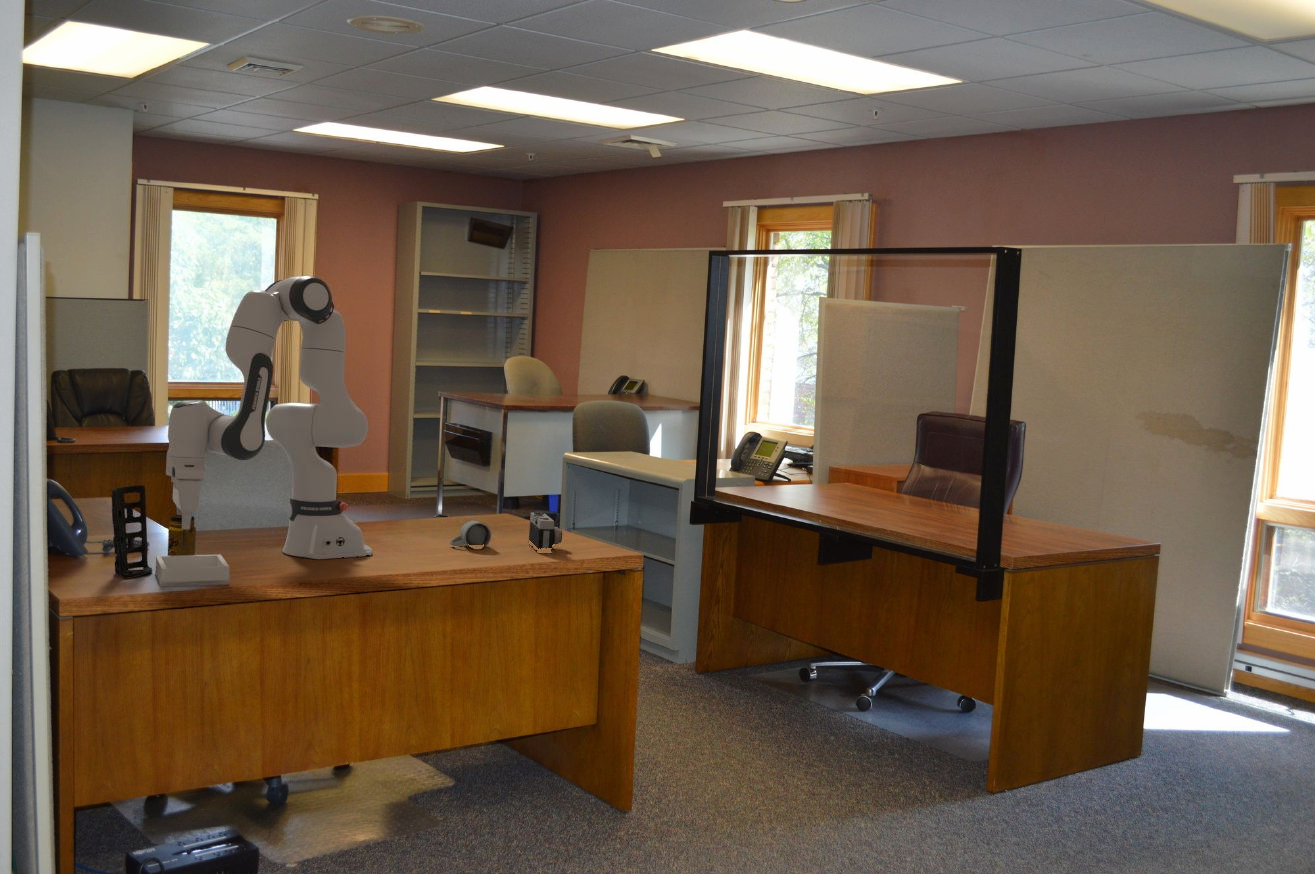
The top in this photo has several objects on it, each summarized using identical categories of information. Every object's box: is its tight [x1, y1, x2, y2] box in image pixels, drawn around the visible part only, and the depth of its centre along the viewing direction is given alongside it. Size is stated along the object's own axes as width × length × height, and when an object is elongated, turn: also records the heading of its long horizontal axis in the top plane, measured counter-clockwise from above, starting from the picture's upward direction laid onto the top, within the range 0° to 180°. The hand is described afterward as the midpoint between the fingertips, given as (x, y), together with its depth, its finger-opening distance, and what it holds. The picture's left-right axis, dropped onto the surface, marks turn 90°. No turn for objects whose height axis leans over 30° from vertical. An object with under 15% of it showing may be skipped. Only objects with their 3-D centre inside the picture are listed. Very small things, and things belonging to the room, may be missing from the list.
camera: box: [528, 511, 563, 549], centre depth 324 cm, size 14×8×10 cm, turn 17°
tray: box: [155, 554, 231, 588], centre depth 257 cm, size 14×14×4 cm
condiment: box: [167, 514, 197, 556], centre depth 270 cm, size 7×8×12 cm
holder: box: [110, 484, 153, 580], centre depth 257 cm, size 11×8×20 cm
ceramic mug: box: [449, 520, 492, 547], centre depth 318 cm, size 11×8×8 cm
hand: (183, 525), depth 269 cm, fingers open, 8 cm apart
